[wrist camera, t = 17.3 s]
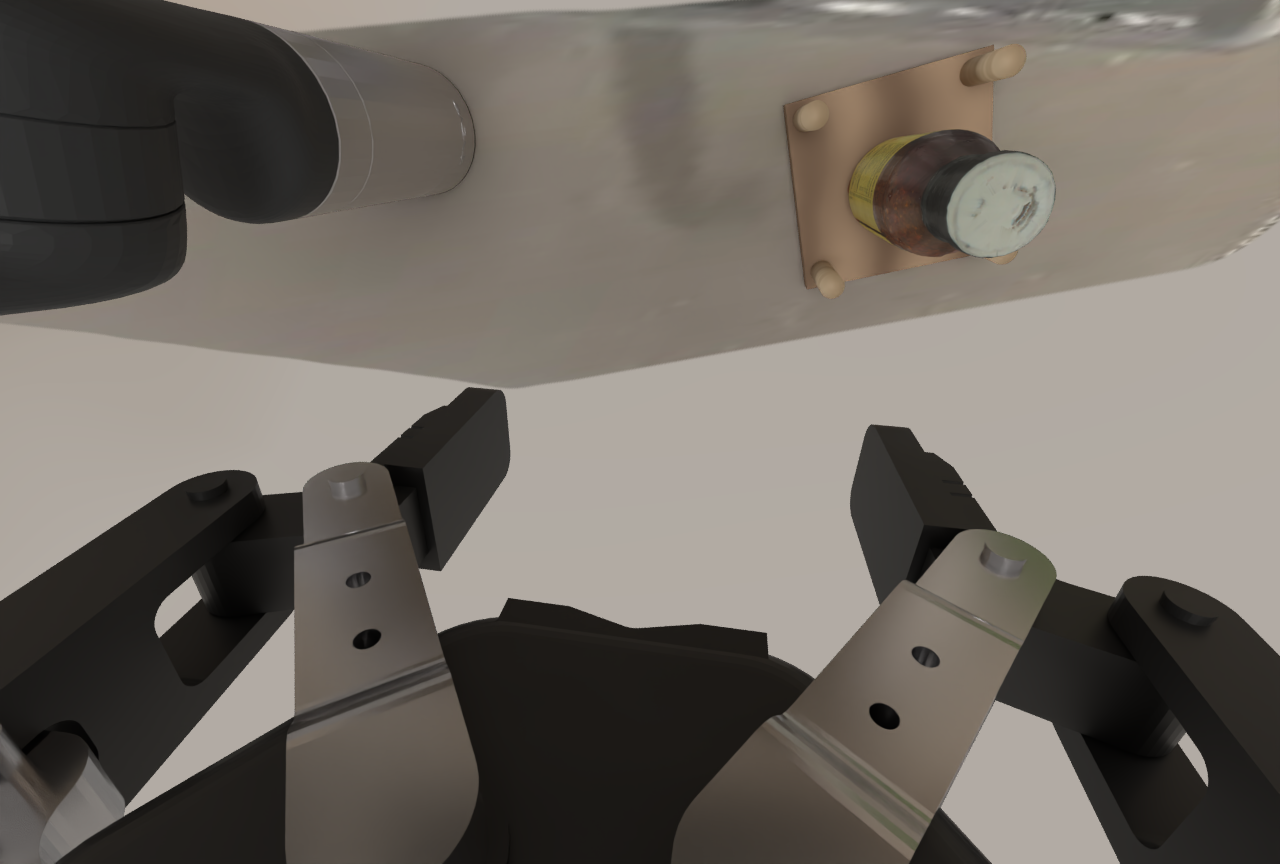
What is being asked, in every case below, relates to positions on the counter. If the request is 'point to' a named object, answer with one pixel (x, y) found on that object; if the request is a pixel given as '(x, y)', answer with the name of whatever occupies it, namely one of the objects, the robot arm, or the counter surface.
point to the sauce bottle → (951, 194)
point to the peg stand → (859, 121)
